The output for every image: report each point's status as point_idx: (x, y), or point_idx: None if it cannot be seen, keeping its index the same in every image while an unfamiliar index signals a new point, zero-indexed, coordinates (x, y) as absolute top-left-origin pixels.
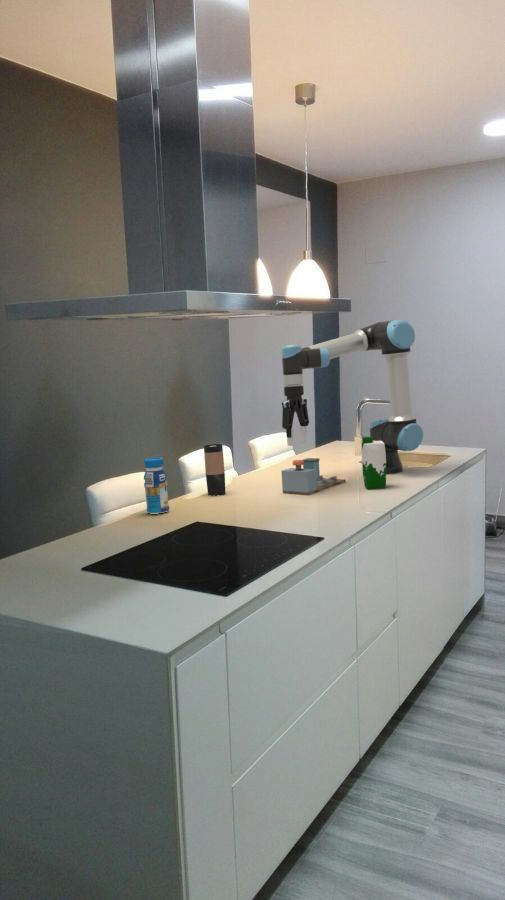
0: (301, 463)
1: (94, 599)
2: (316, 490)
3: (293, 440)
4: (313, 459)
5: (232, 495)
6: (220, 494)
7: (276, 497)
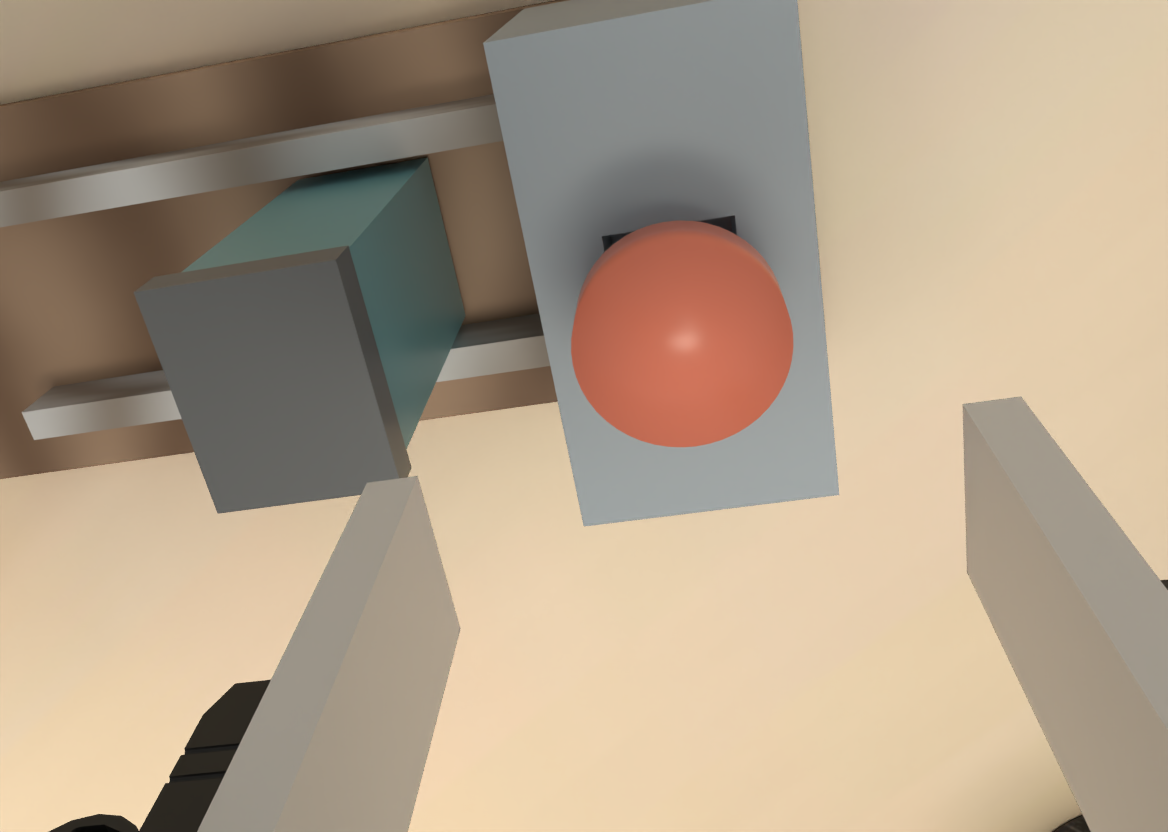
0: (704, 232)
1: None
2: (544, 4)
3: (1050, 475)
4: (276, 315)
5: None
6: None
7: (1035, 247)
